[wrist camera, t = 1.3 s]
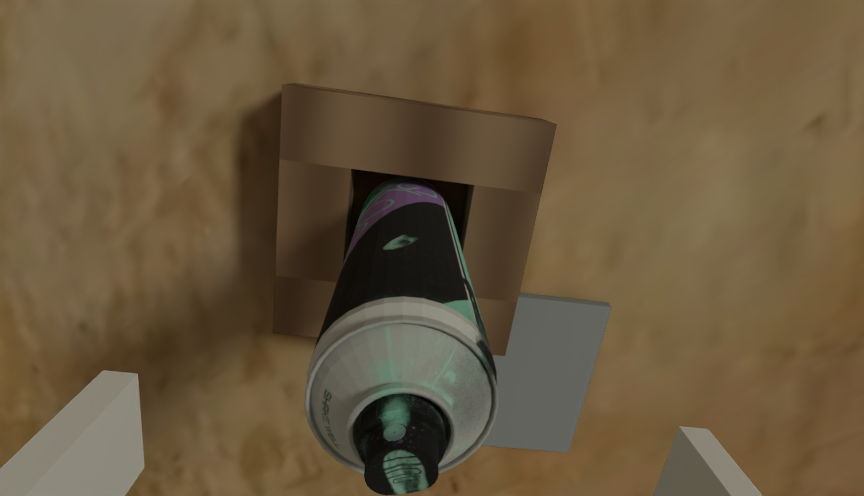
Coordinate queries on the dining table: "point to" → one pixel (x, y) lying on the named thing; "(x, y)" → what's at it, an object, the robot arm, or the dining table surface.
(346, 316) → the spray can
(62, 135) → the dining table surface
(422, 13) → the dining table surface
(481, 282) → the eye block
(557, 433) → the slate tile
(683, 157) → the dining table surface
